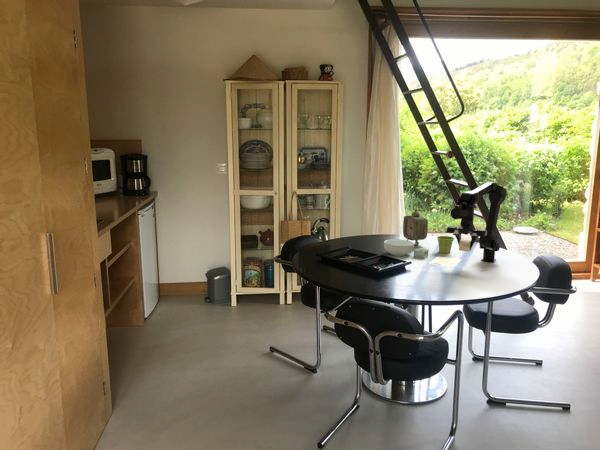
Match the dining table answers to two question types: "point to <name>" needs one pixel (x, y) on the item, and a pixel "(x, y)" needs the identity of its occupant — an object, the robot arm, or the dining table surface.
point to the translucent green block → (421, 253)
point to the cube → (464, 245)
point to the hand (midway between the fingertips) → (465, 247)
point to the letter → (445, 261)
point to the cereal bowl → (398, 247)
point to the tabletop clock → (415, 227)
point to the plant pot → (445, 243)
